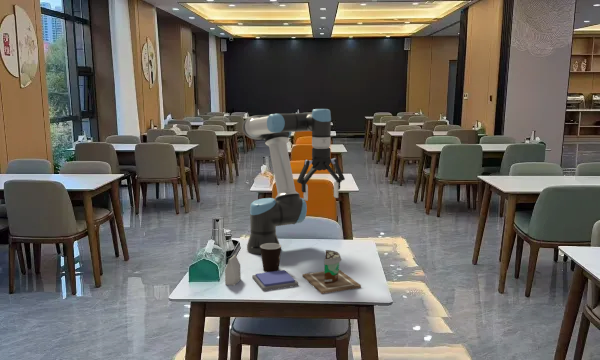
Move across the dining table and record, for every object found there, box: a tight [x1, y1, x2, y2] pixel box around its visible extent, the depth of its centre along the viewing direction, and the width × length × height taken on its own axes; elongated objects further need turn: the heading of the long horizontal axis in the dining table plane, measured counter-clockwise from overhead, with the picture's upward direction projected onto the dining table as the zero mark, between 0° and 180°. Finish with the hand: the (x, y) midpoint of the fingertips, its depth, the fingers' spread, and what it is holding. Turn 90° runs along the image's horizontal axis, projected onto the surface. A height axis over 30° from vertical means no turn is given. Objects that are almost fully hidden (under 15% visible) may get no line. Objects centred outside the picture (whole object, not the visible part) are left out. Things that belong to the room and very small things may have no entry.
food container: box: [324, 249, 342, 284], centre depth 201 cm, size 12×6×10 cm, turn 175°
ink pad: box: [252, 269, 299, 292], centre depth 203 cm, size 14×14×2 cm
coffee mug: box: [260, 243, 282, 273], centre depth 217 cm, size 12×9×10 cm
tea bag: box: [224, 254, 242, 286], centre depth 202 cm, size 4×7×10 cm, turn 166°
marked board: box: [302, 268, 362, 295], centre depth 202 cm, size 19×16×1 cm
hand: (321, 198), depth 216 cm, fingers open, 13 cm apart
